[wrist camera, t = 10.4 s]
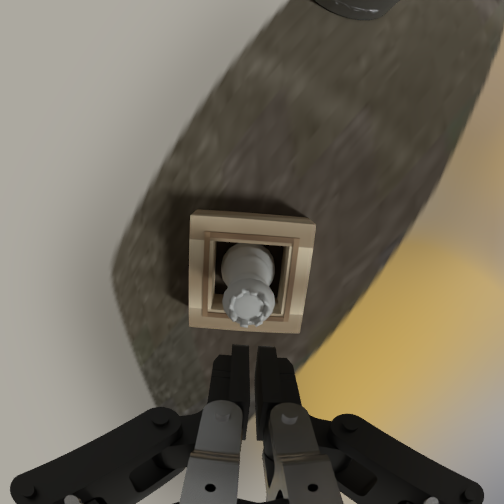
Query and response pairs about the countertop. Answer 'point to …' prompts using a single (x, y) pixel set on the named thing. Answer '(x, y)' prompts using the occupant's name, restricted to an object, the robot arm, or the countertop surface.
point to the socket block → (255, 232)
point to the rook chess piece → (248, 283)
